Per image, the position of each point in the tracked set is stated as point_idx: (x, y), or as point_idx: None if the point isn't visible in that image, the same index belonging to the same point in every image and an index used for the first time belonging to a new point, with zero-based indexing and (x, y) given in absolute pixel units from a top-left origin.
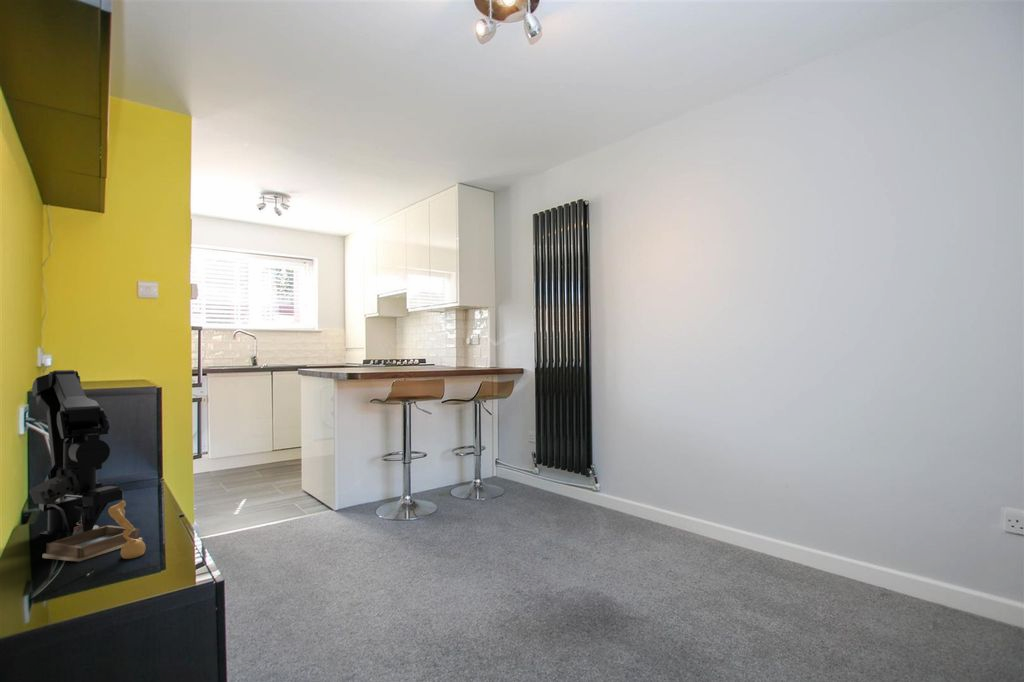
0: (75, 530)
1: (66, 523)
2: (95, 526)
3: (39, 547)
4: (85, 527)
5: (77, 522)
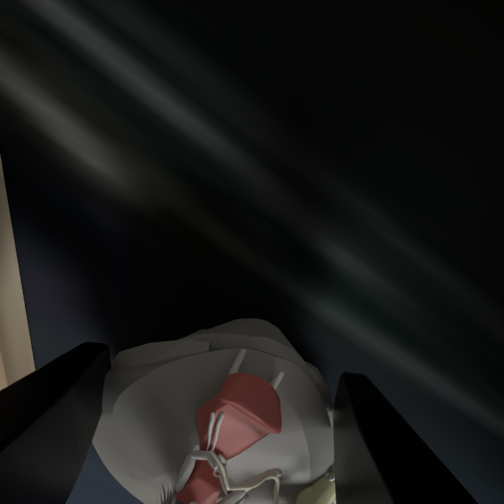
0: (226, 375)
1: (419, 463)
2: (138, 493)
3: (488, 82)
4: (1, 391)
5: (224, 488)
